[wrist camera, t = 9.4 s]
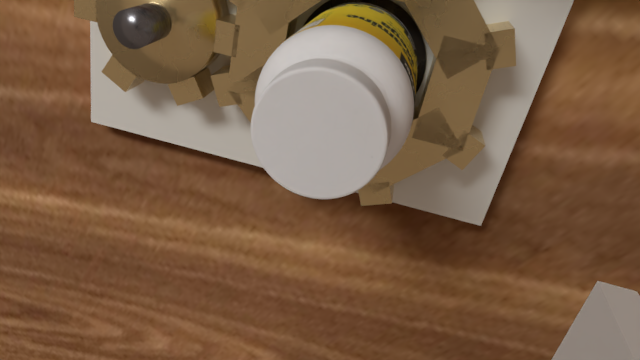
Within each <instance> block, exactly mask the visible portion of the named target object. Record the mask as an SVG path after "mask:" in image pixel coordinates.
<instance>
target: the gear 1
mask: <svg viewBox="0 0 640 360" xmlns="http://www.w3.org/2000/svg"><path fill="white" fill-rule="evenodd" d="M74 17H78V18H81V19H85V20H89V21H93V22H97V24H98V27H99V30H100V33H101V36H102V38H103V40H104V42H105V44H106V46H107V48H108V49H109V50H110V52H111V53H112V56H111V58H110V59H109V61H108V62H107V64H106V65H105V67H104V68H103V70H102V71H101V72H102V73H103V74H104V75H106V76H107V77H108V78H109V79H110V80H111V81H113V82H114V83H115V84H116V85H117V86H118V87H120V88H121V89H122V90H123V91H124V92H127V91H128V90H130V89H132V88H134V87H136V86H138V85H139V84H141V83H143V82H144V80H148V81H151V82H155V83H162V84H168V86H169V89H170V91H171V93H172V95H173V98H174V100H175V102H176V104H177V106H179V105H182V104H185V103H189V102H192V101H196V100H199V99H202V98H204V97H205V96H207V95H208V94H209V93H211V92H212V91H213V90H214V86H213V83H212V79H211V76H210V75H211V73H210V70H209V68H206V67H208V66H209V65H210V64H212V63H213V62H214V61H215V60H216V59H217V58H218V56H219V55H220V54H224V55H228V56H232V55H233V56H234V55H235V56H236V53H237V50H236V49H237V45H238V36H239V29H240V25H238V26H239V27H238V28H239V29H238V28H237V26H236V24H235V20H236V15H234V14H229V9H228V4H227V1H226V0H74ZM237 29H238V30H237ZM235 30H236V31H235ZM234 31H235V32H234ZM235 33H237V34H238V35H237V36H236V34H235ZM234 36H235V38H234ZM233 38H234V39H233ZM233 40H235V41H234V42H233ZM232 45H233V46H232ZM235 46H236V47H235ZM232 47H234V48H232ZM235 48H236V49H235ZM231 53H232V55H231ZM233 56H232V57H233ZM235 56H234V57H235Z"/></svg>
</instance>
